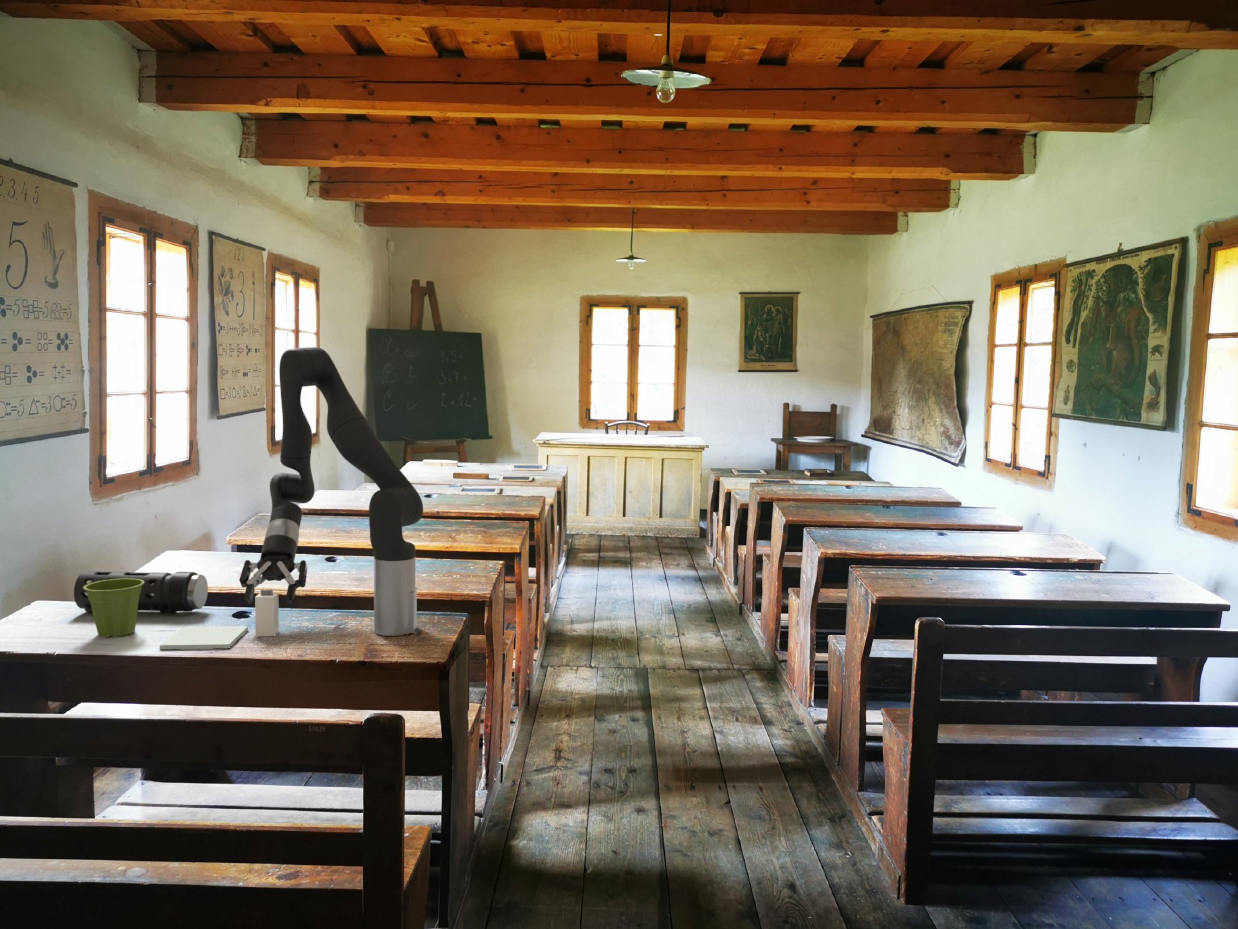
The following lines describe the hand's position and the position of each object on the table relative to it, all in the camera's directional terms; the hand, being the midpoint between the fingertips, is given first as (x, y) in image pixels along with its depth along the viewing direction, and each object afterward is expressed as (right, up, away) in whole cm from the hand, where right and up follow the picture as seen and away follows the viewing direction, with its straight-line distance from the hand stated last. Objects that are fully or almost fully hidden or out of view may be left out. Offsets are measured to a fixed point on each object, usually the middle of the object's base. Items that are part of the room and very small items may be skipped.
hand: (268, 601), depth 204 cm
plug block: (0, -7, -1) cm, 7 cm away
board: (-11, -7, -7) cm, 15 cm away
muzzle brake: (-36, -5, +15) cm, 39 cm away
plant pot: (-33, -7, -3) cm, 34 cm away
